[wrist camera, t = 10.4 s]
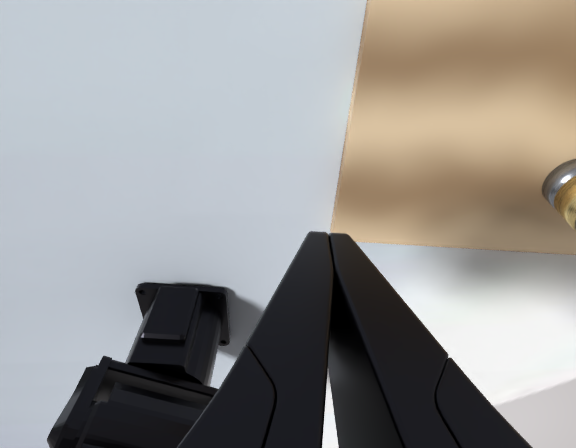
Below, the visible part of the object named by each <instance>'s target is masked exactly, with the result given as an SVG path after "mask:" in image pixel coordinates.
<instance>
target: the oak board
mask: <svg viewBox="0 0 576 448" xmlns="http://www.w3.org/2000/svg"><path fill="white" fill-rule="evenodd" d="M572 159H576V0H367V4H366V11H365V17H364V23H363V29H362V36H361V42H360V48H359V54H358V61H357V67H356V73H355V79H354V86H353V92H352V98H351V104H350V110H349V117H348V123H347V129H346V135H345V142H344V148H343V154H342V160H341V167H340V173H339V179H338V185H337V192H336V198H335V204H334V210H333V216H332V223H331V229H330V231H331V233H346V234H348V235H349V236H350V237H351V238H352V239H353V240H354V241H355V242H369V243H385V244H402V245H419V246H435V247H452V248H468V249H485V250H502V251H518V252H535V253H551V254H568V255H576V231H575V230H574V229H573V228H572V227H571V226H570V225H569V224H568V223H567V221H566V220H565V219H564V218H563V217H562V216H561V215H560V214H559V213H558V212H557V211H556V210H555V209H554V208H553V207H552V205H551V204H550V203H549V202H548V201H547V200H546V199H545V198H544V197H543V195H542V185H543V182H544V180H545V178H546V177H547V176H548V174H549V173H550V172H551V171H552V170H554V169H555V168H556V167H558V166H559V165H561V164H562V163H564V162H567V161H569V160H572Z"/></svg>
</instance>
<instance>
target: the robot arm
mask: <svg viewBox="0 0 576 448" xmlns="http://www.w3.org/2000/svg"><path fill="white" fill-rule="evenodd" d="M135 292H136V296H137V299H138V302H139V306H140V309H141V312H142V316H143V321H142V324H141V326H140V329H139V331H138V333H137V336H136V338H135V341H134V343H133V345H132V348H131V350H130V353H129V355H128V357H127V360H126V362H125V363H122V362H119V361H115V360H112V358H110V357H107V356H103V357H102V359H101V361H100V363H99V365H96V366H92V367H86V369H85V371H84V373H83V375H82V377H81V379H80V381H79V383H78V385H77V387H76V389H75V391H74V393H73V395H72V396H71V398H70V400H69V401H68V403H67V405H66V406H65V408H64V410H63V411H62V413H61V415H60V416H59V418H58V420H57V421H56V423H55V424H54V426H53V428H52V430H51V432H50V434H49V436H48V438H47V442H48V444H49V447H50V448H322V439H323V425H324V411H325V397H326V383H327V369H329V377H330V384H331V392H332V399H333V407H334V415H335V422H336V430H337V437H338V445H339V448H532V447H531V446H530V445H529V443H528V442H527V441H526V440H525V439H524V438H523V437H522V436H521V435H520V434H519V433H518V432H517V431H516V430H515V429H514V428H513V427H512V426H511V425H510V424H509V423H508V422H507V421H506V419H505V418H504V417H503V416H502V415H501V414H500V413H499V412H498V411H497V410H496V409H495V408H494V407H493V406H492V405H491V404H490V402H489V401H488V400H487V399H486V398H485V397H484V396H483V394H482V393H481V392H480V391H479V390H478V389H477V387H476V386H475V385H474V384H473V383H472V382H471V381H470V379H469V378H468V377H467V376H466V375H465V374H464V372H463V371H462V370H461V369H460V368H459V366H458V365H457V364H456V363H455V362H454V360H453V359H452V358H448V353H447V352H446V351H445V350H444V349H443V347H442V346H441V345H440V344H439V343H438V341H437V340H436V339H435V338H434V337H433V335H432V334H431V333H430V332H429V331H428V329H427V328H426V327H425V326H424V325H423V323H422V322H421V321H420V320H419V318H418V317H417V316H416V315H415V314H414V312H413V311H412V310H411V309H410V308H409V306H408V305H407V304H406V303H405V302H404V300H403V299H402V298H401V297H400V296H399V294H398V293H397V292H396V291H395V290H394V288H393V287H392V286H391V285H390V284H389V282H388V281H387V280H386V279H385V278H384V276H383V275H382V274H381V273H380V272H379V270H378V269H377V268H376V267H375V266H374V264H373V263H372V262H371V261H370V260H369V258H368V257H367V256H366V255H365V253H364V252H363V251H362V250H361V249H360V247H359V246H358V245H357V244H356V243H355V241H354V240H353V239H352V238H351V237H350V236H349V235H348V234H346V233H330V234H329V235H328V234H327V233H326V232H315V231H311V232H309V233H308V234H307V236H306V238H305V239H304V241H303V243H302V245H301V247H300V248H299V250H298V252H297V254H296V255H295V257H294V259H293V261H292V263H291V264H290V266H289V268H288V270H287V271H286V273H285V275H284V277H283V279H282V280H281V282H280V284H279V286H278V287H277V289H276V291H275V293H274V295H273V296H272V298H271V300H270V302H269V303H268V305H267V307H266V309H265V311H264V312H263V314H262V316H261V318H260V319H259V321H258V323H257V325H256V327H255V328H254V330H253V332H252V334H251V335H250V337H249V339H248V341H247V343H246V346H245V347H243V349H242V351H241V353H240V354H239V356H238V358H237V360H236V362H235V363H234V365H233V367H232V368H231V370H230V372H229V373H228V375H227V376H226V378H225V380H224V381H223V383H222V385H221V386H220V388H219V389H217V388H213V387H210V384H211V379H212V374H213V369H214V364H215V359H216V354H217V349H218V345H220V346H226V345H228V344H229V343H230V327H229V313H228V299H227V291H226V290H225V289H223V288H213V287H196V286H179V285H162V284H145V283H142V284H138V286H137V288H136V290H135Z"/></svg>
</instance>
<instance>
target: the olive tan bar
mask: <svg viewBox="0 0 576 448" xmlns="http://www.w3.org/2000/svg"><path fill="white" fill-rule="evenodd" d="M554 207H555V209H556V211H557V212H558V213H559V214H560V215H561V216H562V217H563V218H564V219H565V220H566V221H567V223H568V224H569V225H570V226H571V227H572V228H573V229H574V230H575V226H574V225H575V220H576V176H575V177H573V178H571V179H570V180H568V181H567V182H566V183H565V184H564V185H563V186H562V187H561V188H560V189H559V190H558V192H557V194H556V196H555V198H554ZM575 231H576V230H575Z"/></svg>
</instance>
